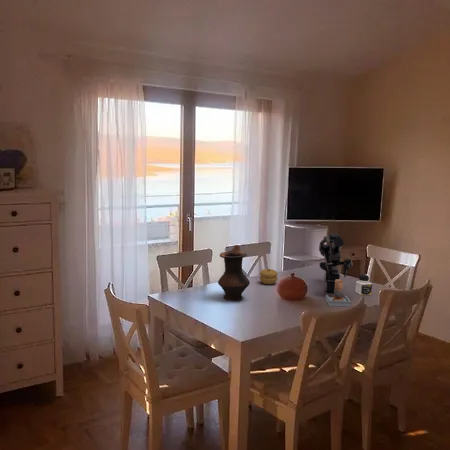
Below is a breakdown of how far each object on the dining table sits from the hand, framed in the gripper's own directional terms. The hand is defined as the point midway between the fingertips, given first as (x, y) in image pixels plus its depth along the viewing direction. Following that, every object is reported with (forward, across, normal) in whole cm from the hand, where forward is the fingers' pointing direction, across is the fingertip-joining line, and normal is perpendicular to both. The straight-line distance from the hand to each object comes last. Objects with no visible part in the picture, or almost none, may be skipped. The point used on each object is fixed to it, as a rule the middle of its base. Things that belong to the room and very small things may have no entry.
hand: (336, 277), depth 295 cm
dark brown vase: (+13, -57, -21) cm, 62 cm away
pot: (-6, -48, +14) cm, 50 cm away
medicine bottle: (+4, +11, +24) cm, 27 cm away
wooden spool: (+14, 0, -1) cm, 14 cm away
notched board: (+15, 0, 0) cm, 15 cm away
